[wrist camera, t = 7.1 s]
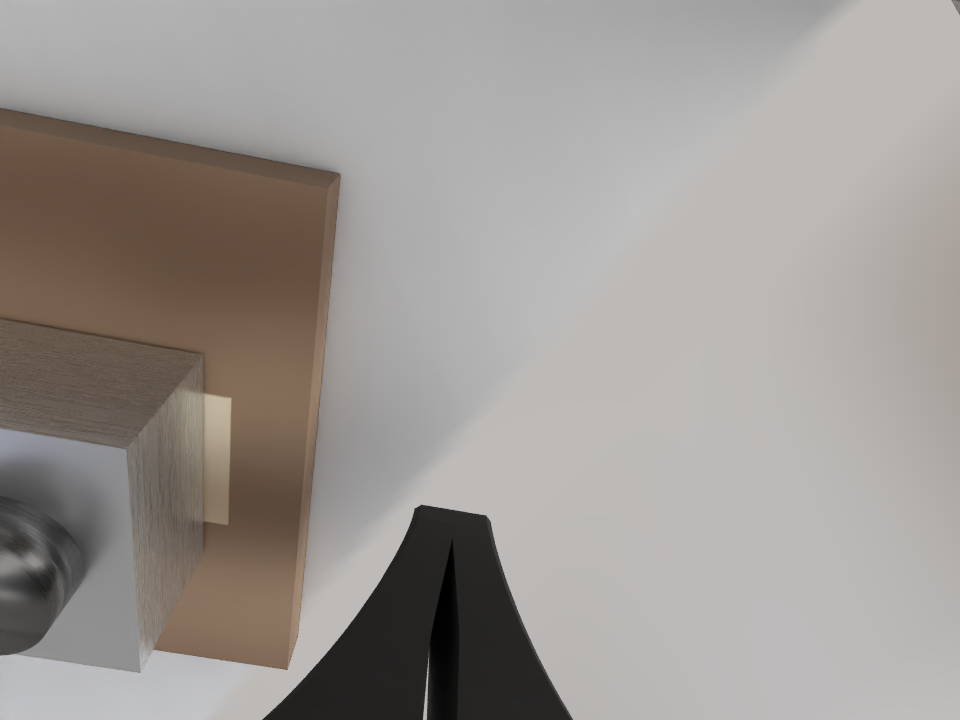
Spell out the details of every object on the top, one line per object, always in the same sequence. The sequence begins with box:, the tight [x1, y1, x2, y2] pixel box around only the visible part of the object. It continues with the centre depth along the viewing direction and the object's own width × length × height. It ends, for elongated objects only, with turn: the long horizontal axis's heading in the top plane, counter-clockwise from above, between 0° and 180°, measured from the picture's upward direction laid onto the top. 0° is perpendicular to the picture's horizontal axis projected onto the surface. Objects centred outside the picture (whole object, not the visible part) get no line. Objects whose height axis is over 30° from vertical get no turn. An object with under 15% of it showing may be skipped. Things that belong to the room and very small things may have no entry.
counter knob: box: [0, 319, 203, 673], centre depth 12 cm, size 5×4×4 cm
